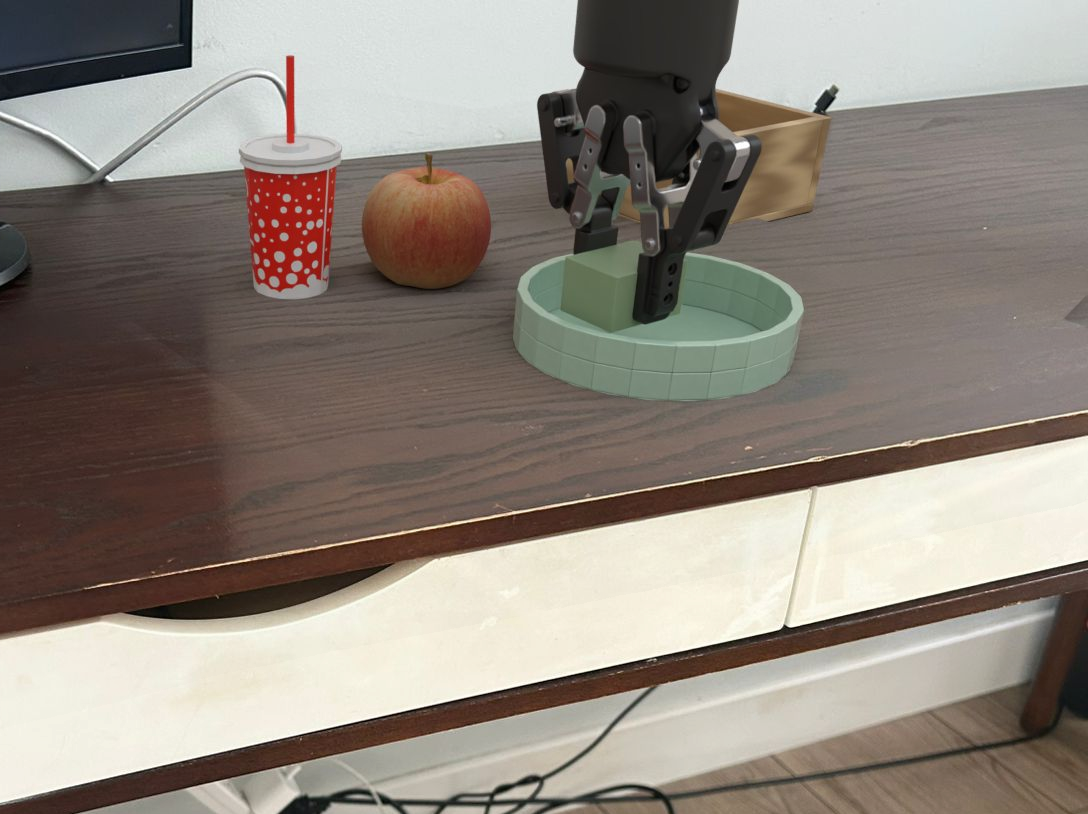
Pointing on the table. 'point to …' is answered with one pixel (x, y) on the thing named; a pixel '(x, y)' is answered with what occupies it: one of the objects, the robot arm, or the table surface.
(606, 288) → the green rectangular block
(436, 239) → the apple
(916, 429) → the table surface
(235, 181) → the table surface
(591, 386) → the bowl
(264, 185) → the beverage cup
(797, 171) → the box
